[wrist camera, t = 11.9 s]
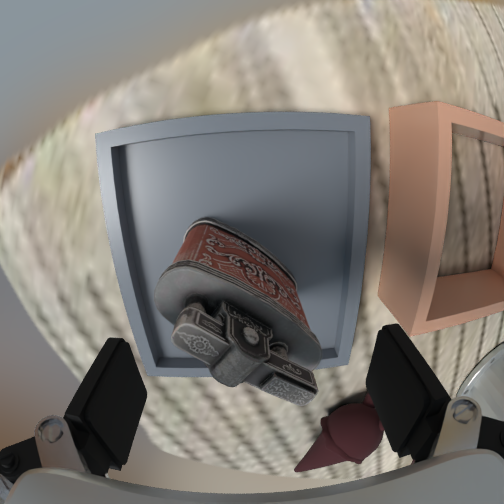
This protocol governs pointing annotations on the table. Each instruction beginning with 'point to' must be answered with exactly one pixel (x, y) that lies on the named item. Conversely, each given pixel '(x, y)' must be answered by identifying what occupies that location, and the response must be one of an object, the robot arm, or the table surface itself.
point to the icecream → (345, 436)
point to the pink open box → (432, 222)
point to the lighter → (239, 312)
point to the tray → (240, 212)
